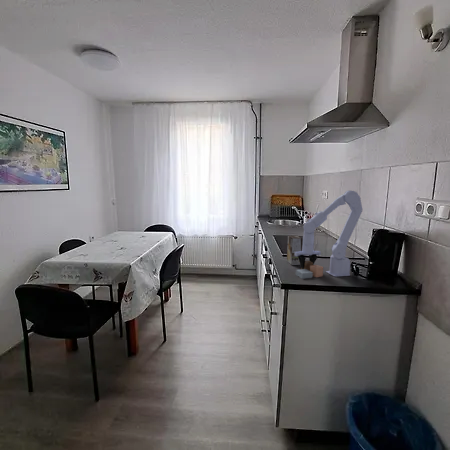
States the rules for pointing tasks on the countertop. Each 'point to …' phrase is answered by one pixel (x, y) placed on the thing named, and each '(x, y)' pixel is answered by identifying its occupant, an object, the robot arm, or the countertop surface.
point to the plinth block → (304, 273)
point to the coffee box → (294, 249)
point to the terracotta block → (316, 270)
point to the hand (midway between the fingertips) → (306, 268)
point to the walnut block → (307, 265)
